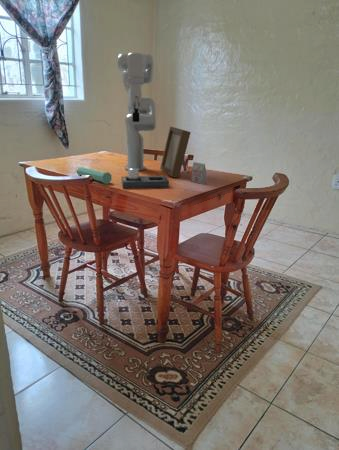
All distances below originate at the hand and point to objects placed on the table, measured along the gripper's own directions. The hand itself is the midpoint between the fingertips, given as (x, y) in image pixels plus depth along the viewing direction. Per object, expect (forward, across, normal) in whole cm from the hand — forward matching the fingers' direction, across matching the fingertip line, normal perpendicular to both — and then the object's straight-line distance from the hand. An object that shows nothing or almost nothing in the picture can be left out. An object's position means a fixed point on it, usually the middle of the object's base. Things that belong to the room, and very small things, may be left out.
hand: (135, 121), depth 174 cm
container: (+26, -4, -20) cm, 34 cm away
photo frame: (+29, -14, +25) cm, 41 cm away
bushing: (+29, +12, -2) cm, 32 cm away
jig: (+29, +12, +3) cm, 32 cm away
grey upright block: (+29, +9, +31) cm, 44 cm away
